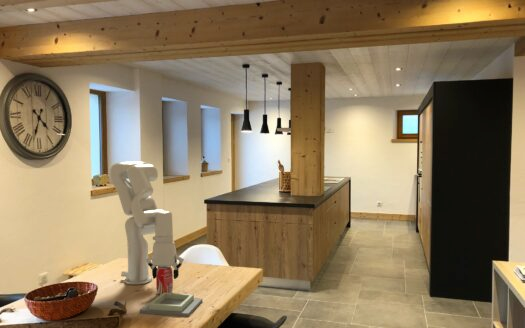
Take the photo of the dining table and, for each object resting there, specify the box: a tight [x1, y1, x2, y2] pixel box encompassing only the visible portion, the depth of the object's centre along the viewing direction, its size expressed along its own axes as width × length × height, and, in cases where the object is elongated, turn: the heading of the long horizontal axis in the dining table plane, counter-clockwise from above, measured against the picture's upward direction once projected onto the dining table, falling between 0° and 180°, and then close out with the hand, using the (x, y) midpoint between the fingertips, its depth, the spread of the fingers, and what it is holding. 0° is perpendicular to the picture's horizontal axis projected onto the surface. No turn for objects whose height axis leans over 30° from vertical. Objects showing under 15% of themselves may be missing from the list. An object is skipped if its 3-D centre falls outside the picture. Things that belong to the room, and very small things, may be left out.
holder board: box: [139, 292, 203, 317], centre depth 166 cm, size 20×16×3 cm
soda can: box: [155, 266, 174, 296], centre depth 182 cm, size 7×7×12 cm
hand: (165, 277), depth 182 cm, fingers open, 9 cm apart
